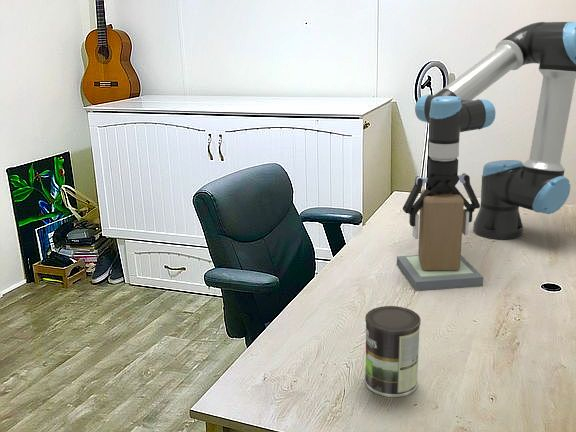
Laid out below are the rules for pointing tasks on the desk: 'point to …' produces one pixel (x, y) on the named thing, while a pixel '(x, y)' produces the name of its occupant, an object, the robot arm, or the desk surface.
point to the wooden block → (441, 231)
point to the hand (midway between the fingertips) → (440, 235)
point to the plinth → (438, 275)
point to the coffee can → (392, 350)
